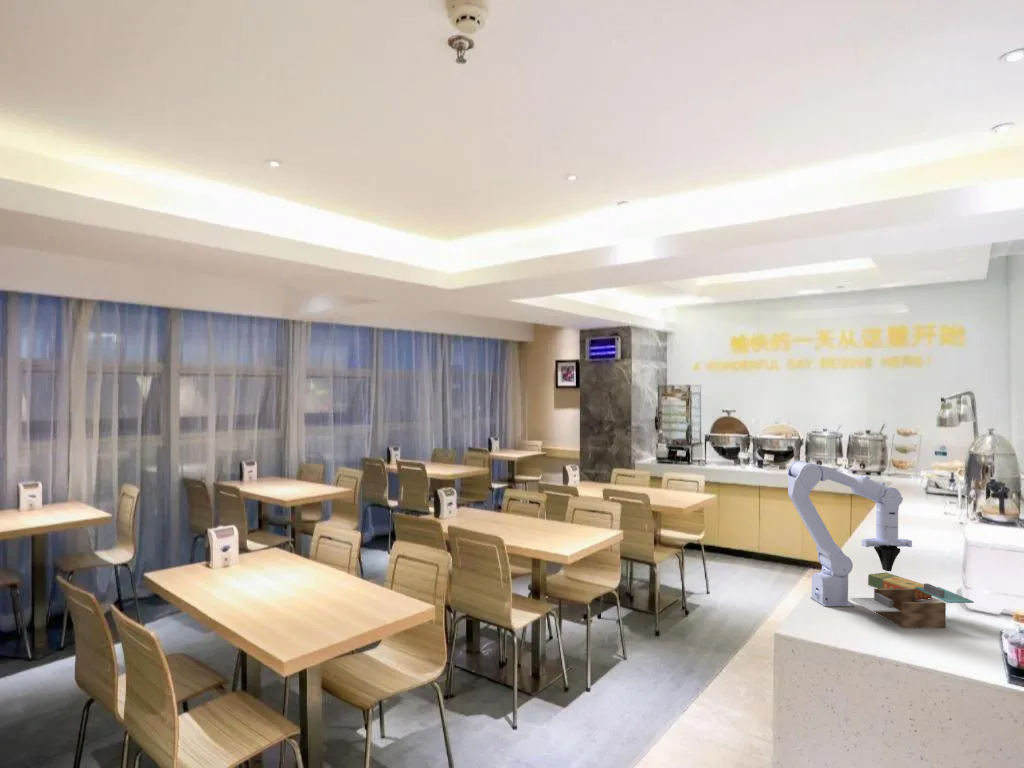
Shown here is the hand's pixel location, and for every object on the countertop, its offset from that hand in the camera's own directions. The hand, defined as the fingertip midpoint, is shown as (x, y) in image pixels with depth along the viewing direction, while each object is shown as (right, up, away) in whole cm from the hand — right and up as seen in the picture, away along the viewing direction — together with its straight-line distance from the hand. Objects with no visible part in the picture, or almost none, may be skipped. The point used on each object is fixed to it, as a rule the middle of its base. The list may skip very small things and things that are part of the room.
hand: (886, 570), depth 179 cm
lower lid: (-12, -6, -13) cm, 18 cm away
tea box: (-2, -10, -12) cm, 16 cm away
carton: (+12, -12, +13) cm, 21 cm away
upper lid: (+9, -3, -12) cm, 15 cm away
